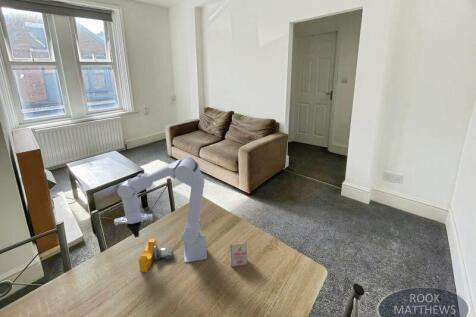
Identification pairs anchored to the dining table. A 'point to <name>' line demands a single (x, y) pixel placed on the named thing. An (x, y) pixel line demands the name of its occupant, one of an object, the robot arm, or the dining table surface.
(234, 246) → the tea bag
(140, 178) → the robot arm
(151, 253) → the pipe clamp
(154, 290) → the dining table surface
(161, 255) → the pipe fixture
